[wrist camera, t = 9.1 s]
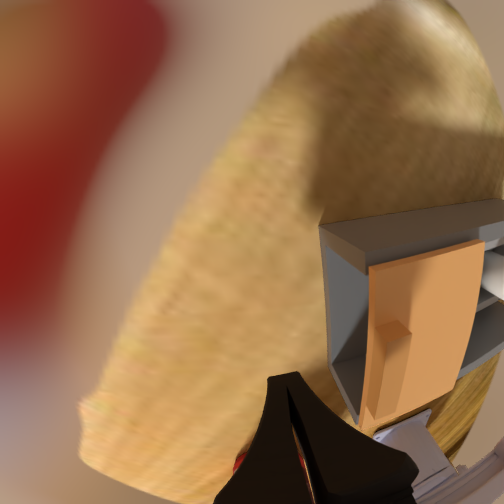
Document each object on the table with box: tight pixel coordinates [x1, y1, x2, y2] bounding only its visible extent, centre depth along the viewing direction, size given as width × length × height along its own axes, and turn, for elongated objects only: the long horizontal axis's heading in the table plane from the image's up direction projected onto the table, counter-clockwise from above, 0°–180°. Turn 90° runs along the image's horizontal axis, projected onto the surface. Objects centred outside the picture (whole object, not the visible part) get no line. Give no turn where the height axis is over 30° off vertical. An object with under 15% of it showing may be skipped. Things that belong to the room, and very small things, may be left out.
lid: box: [358, 239, 485, 431], centre depth 10 cm, size 10×7×2 cm
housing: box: [318, 199, 504, 425], centre depth 15 cm, size 11×19×6 cm, turn 100°
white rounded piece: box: [480, 250, 504, 300], centre depth 15 cm, size 3×3×5 cm
